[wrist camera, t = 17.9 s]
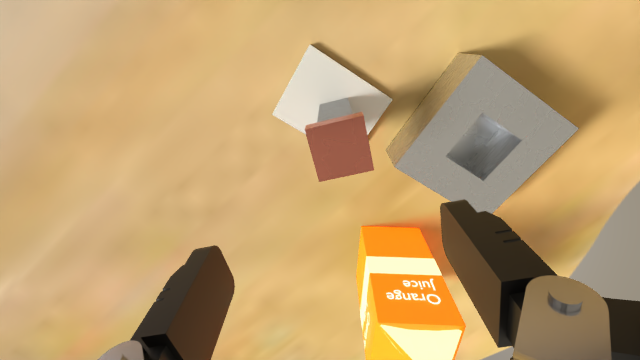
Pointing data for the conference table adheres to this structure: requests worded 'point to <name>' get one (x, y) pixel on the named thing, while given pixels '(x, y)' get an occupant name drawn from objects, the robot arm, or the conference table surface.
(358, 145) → the key
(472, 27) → the conference table surface
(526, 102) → the block
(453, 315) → the orange juice
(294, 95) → the pad
